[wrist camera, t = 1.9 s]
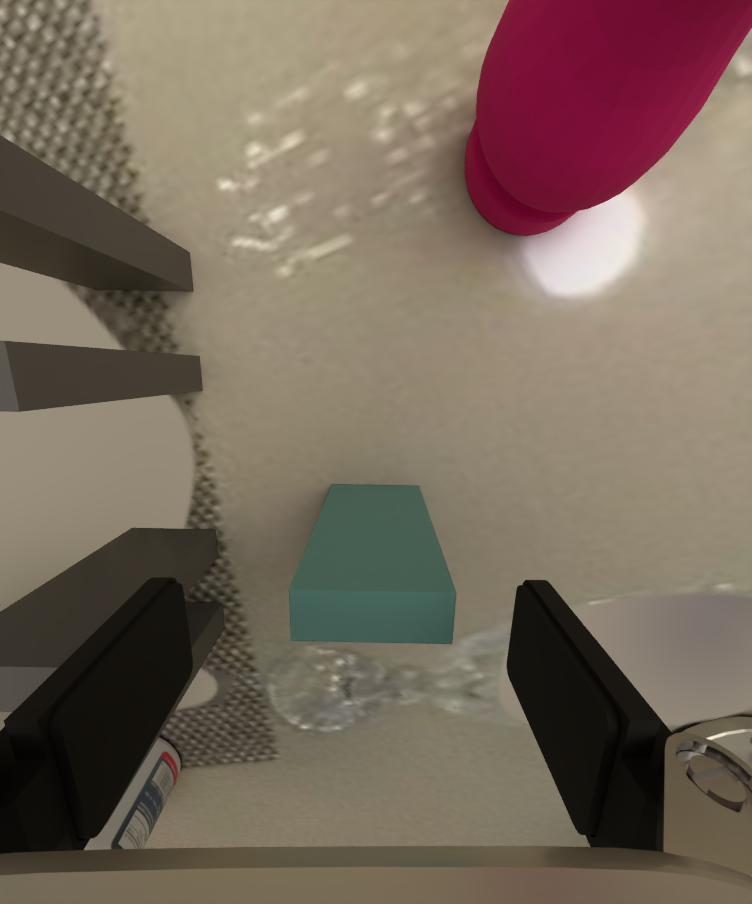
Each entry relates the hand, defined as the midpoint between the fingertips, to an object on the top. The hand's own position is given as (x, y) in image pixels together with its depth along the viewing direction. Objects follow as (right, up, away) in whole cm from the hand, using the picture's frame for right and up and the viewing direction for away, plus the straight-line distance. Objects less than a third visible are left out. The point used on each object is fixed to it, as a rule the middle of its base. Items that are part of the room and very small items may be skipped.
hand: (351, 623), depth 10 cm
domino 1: (-11, +14, +8) cm, 20 cm away
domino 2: (-11, +9, +9) cm, 17 cm away
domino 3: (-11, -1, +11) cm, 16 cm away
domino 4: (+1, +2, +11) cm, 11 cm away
